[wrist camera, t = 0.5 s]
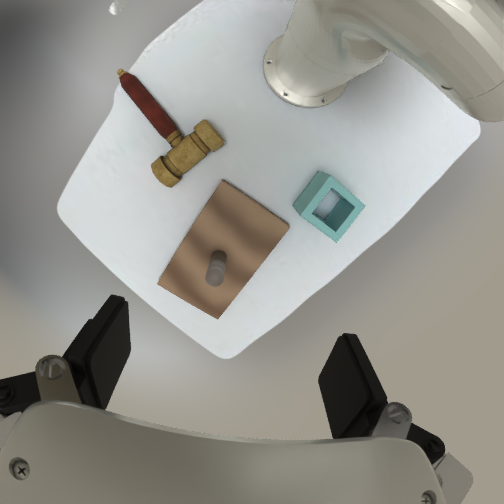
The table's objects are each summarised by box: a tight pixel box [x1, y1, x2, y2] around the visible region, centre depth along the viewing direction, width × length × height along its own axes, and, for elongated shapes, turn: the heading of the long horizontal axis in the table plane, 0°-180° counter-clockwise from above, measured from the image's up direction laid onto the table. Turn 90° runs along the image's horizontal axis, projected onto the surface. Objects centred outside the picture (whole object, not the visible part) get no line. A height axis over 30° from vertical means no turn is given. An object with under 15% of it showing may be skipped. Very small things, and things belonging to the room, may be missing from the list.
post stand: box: [157, 180, 290, 319], centre depth 40 cm, size 20×12×8 cm, turn 145°
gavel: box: [117, 69, 224, 188], centre depth 34 cm, size 21×5×10 cm
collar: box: [293, 171, 365, 243], centre depth 38 cm, size 7×7×6 cm
